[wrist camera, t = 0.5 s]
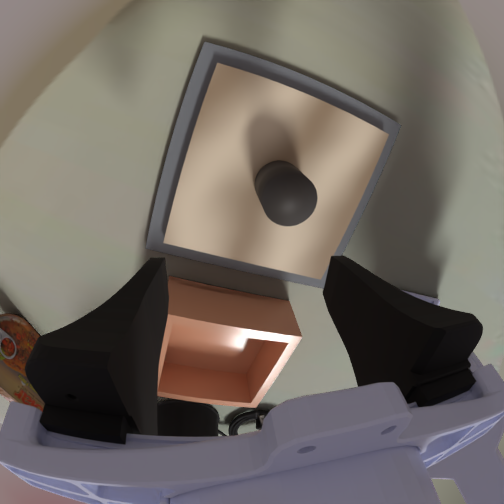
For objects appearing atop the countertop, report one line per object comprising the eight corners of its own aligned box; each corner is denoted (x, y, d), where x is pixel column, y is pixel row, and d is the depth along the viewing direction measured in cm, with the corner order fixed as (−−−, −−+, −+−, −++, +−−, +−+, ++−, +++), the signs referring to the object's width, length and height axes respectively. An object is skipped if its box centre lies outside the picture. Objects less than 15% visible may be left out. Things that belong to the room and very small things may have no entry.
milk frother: (134, 405, 32) (126, 511, 19) (248, 373, 31) (270, 501, 18) (192, 445, 39) (197, 528, 27) (287, 421, 38) (309, 512, 25)
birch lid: (383, 132, 19) (415, 143, 16) (317, 274, 25) (334, 304, 21) (217, 64, 16) (218, 55, 12) (164, 237, 21) (157, 267, 18)
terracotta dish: (289, 300, 26) (302, 336, 22) (250, 373, 31) (255, 407, 27) (169, 275, 23) (163, 313, 19) (152, 358, 28) (148, 394, 24)
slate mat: (397, 124, 19) (401, 125, 19) (322, 285, 26) (323, 288, 25) (204, 42, 15) (204, 41, 15) (146, 245, 22) (145, 248, 21)
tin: (93, 387, 30) (80, 445, 23) (76, 390, 30) (63, 446, 23) (8, 295, 22) (-29, 354, 15) (-5, 303, 22) (-40, 359, 15)
